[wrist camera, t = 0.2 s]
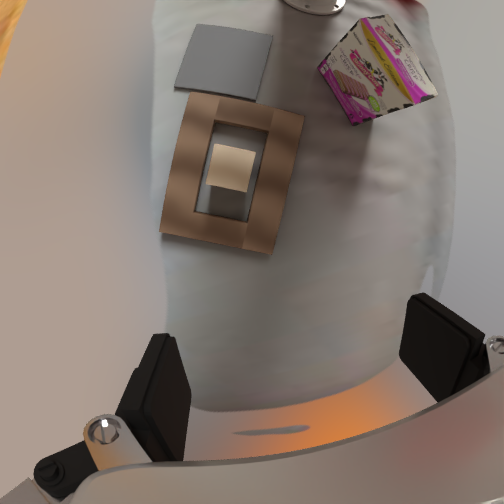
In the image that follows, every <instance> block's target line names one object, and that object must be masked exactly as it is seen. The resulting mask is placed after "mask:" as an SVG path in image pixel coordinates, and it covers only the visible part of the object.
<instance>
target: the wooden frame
mask: <svg viewBox="0 0 504 504" xmlns="http://www.w3.org/2000/svg"><path fill="white" fill-rule="evenodd" d="M304 117H305V116H302V115H299V114H295V113H292V112H288V111H285V110H281V109H277V108H273V107H269V106H265V105H261V104H257V103H253V102H248V101H243V100H238V99H233V98H228V97H223V96H217V95H211V94H205V93H198V92H190V95H189V98H188V102H187V105H186V109H185V112H184V116H183V120H182V124H181V127H180V131H179V135H178V139H177V143H176V147H175V152H174V156H173V160H172V165H171V170H170V174H169V179H168V184H167V189H166V194H165V200H164V205H163V211H162V217H161V223H160V229H159V232H163V233H168V234H173V235H178V236H183V237H188V238H192V239H197V240H202V241H207V242H212V243H217V244H222V245H227V246H232V247H237V248H242V249H246V250H251V251H256V252H261V253H266V254H271V255H272V253H273V249H274V245H275V241H276V237H277V233H278V229H279V225H280V221H281V217H282V212H283V208H284V204H285V200H286V196H287V192H288V187H289V183H290V179H291V175H292V170H293V166H294V162H295V157H296V153H297V149H298V144H299V140H300V135H301V131H302V127H303V122H304ZM215 122H216V123H221V124H227V125H232V126H237V127H241V128H246V129H250V130H255V131H259V132H263V133H267V138H266V142H265V146H264V150H263V154H262V159H261V163H260V167H259V172H258V176H257V180H256V184H255V189H254V193H253V197H252V202H251V206H250V210H249V215H248V219H247V222H246V221H241V220H236V219H232V218H227V217H222V216H217V215H212V214H207V213H202V212H197V211H195V209H196V204H197V199H198V194H199V190H200V185H201V180H202V176H203V171H204V167H205V162H206V158H207V154H208V150H209V145H210V141H211V137H212V133H213V129H214V125H215Z"/></svg>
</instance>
